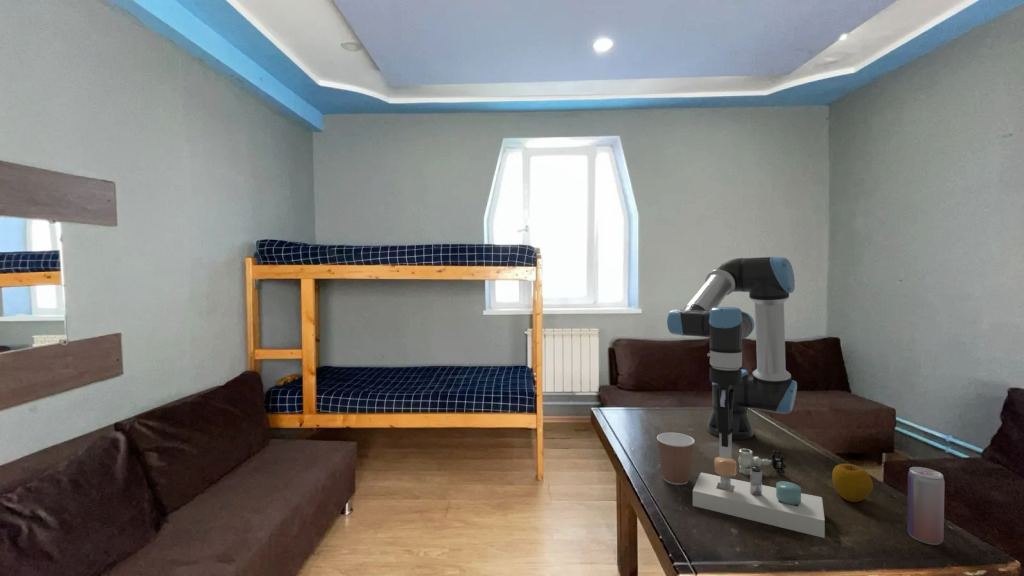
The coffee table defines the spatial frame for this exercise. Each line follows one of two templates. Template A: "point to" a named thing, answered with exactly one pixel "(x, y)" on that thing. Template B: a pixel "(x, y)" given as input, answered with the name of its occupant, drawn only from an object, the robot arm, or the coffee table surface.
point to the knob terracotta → (725, 471)
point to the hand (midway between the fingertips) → (725, 457)
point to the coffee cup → (675, 457)
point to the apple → (851, 482)
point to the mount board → (760, 505)
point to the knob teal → (788, 492)
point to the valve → (759, 461)
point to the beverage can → (925, 505)
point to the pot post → (756, 481)
